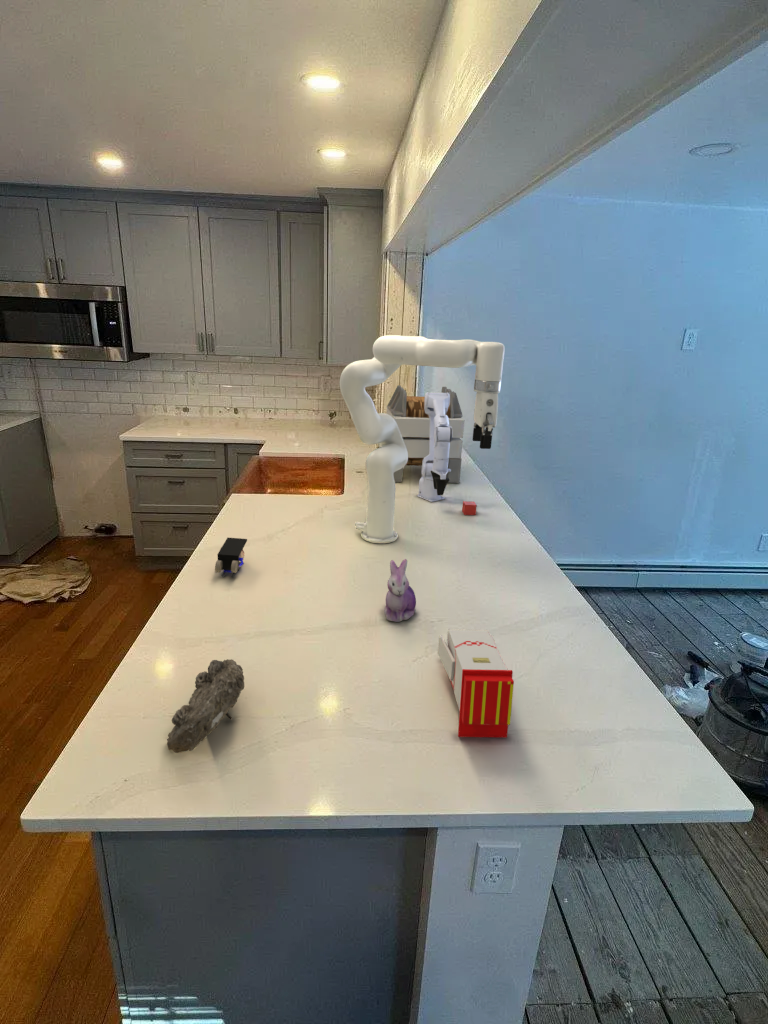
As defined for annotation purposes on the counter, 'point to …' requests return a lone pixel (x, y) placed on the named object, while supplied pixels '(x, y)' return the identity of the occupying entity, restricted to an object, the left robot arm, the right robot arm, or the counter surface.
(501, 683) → the toy
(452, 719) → the counter surface
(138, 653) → the counter surface
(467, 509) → the cube
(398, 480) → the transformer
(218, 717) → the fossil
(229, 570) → the figurine character
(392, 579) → the figurine
